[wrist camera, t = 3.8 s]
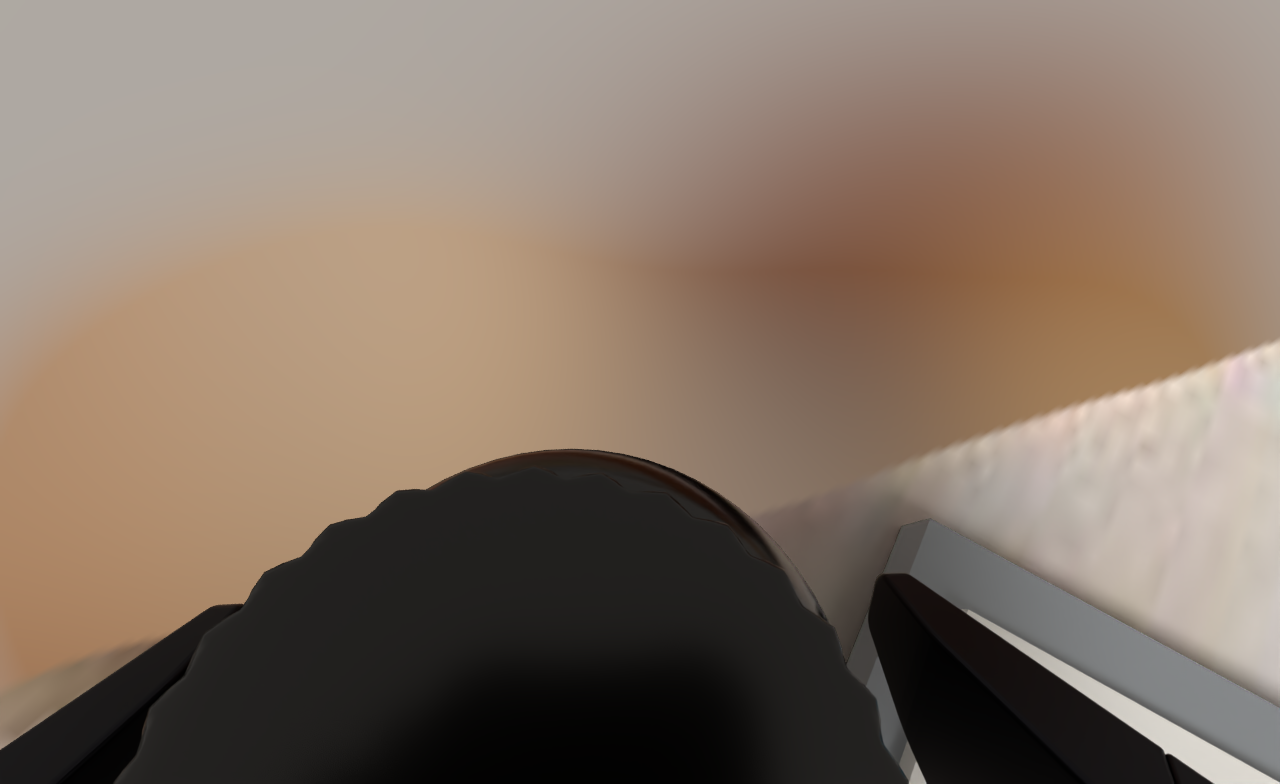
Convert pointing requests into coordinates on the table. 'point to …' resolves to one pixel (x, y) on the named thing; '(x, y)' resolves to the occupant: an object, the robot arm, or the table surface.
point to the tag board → (1082, 661)
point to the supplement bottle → (526, 647)
